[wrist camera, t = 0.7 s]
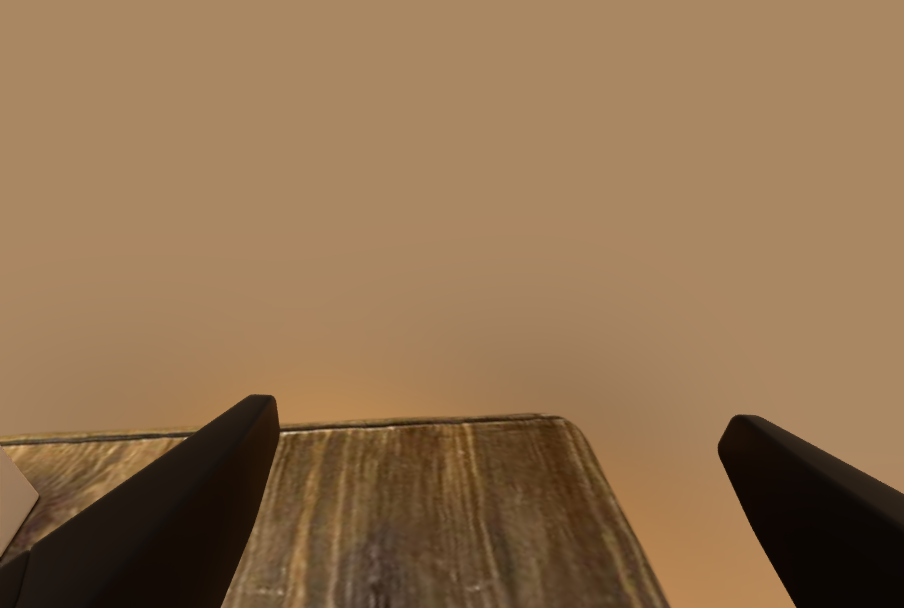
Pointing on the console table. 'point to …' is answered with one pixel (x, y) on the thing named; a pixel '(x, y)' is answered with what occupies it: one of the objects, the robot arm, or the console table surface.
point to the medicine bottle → (13, 499)
